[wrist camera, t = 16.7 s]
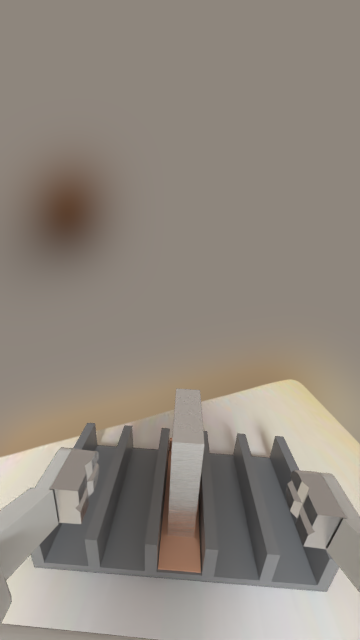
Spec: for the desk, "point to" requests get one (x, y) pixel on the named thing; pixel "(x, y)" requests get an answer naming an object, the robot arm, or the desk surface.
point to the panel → (185, 463)
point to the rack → (210, 526)
